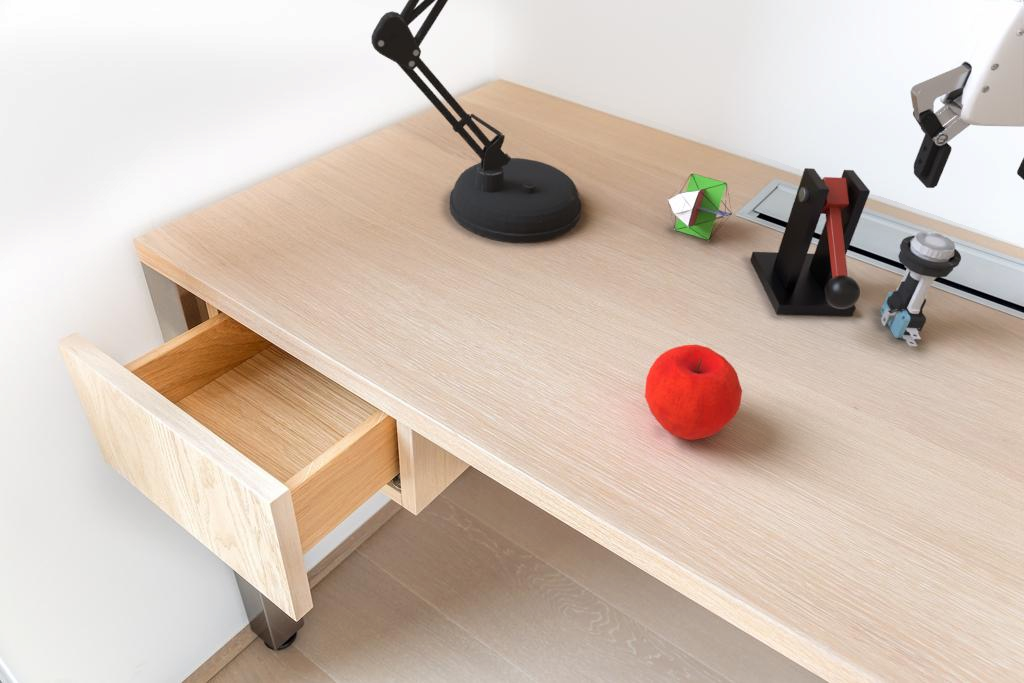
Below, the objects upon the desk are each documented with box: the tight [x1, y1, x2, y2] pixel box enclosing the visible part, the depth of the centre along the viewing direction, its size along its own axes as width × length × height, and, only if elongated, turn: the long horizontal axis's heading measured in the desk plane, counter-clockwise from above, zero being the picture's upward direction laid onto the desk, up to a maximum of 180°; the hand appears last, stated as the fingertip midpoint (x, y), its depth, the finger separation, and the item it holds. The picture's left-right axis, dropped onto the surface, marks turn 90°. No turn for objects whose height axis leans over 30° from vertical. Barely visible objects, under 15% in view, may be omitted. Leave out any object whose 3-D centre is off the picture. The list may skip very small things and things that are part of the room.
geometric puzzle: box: [667, 172, 733, 242], centre depth 91 cm, size 7×7×8 cm
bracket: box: [749, 167, 871, 317], centre depth 81 cm, size 10×8×13 cm
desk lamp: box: [371, 0, 582, 244], centre depth 81 cm, size 24×26×45 cm
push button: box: [880, 231, 962, 347], centre depth 77 cm, size 7×5×10 cm
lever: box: [821, 176, 861, 309], centre depth 77 cm, size 13×3×3 cm
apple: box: [644, 344, 743, 441], centre depth 65 cm, size 8×8×7 cm
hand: (976, 181), depth 71 cm, fingers open, 9 cm apart
